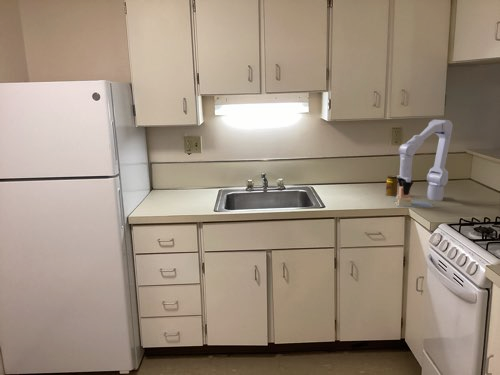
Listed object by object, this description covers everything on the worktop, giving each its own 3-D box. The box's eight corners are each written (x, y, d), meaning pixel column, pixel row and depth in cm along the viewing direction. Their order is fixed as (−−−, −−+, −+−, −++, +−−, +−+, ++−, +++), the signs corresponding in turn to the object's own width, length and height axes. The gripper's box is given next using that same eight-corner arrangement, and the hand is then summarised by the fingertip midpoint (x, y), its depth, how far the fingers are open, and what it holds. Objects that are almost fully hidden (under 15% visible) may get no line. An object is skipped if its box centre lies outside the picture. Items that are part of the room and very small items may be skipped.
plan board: (392, 202, 228) (393, 200, 228) (427, 203, 226) (427, 201, 226) (398, 208, 217) (398, 206, 217) (434, 209, 215) (434, 207, 215)
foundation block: (396, 202, 225) (396, 195, 224) (407, 202, 225) (408, 195, 224) (398, 205, 219) (399, 197, 219) (410, 205, 219) (411, 198, 218)
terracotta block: (398, 195, 224) (399, 186, 222) (407, 195, 223) (408, 186, 222) (400, 197, 219) (401, 188, 218) (409, 197, 219) (410, 188, 218)
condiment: (382, 196, 244) (383, 175, 241) (393, 194, 248) (394, 174, 245) (391, 198, 238) (393, 177, 235) (402, 197, 241) (404, 176, 239)
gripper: (394, 165, 225) (393, 189, 228) (401, 169, 211) (399, 196, 214) (408, 165, 225) (406, 190, 227) (415, 169, 210) (413, 196, 213)
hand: (404, 193), depth 221 cm, fingers open, 7 cm apart
